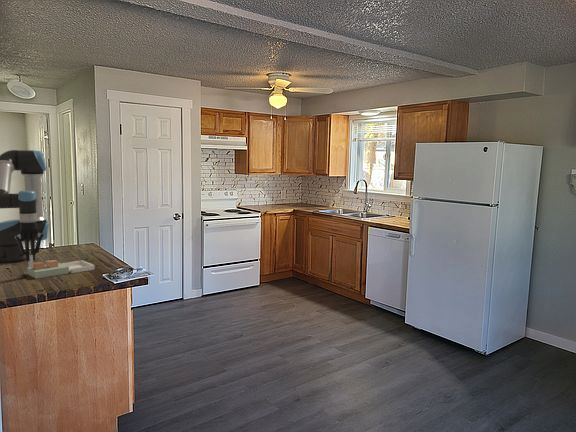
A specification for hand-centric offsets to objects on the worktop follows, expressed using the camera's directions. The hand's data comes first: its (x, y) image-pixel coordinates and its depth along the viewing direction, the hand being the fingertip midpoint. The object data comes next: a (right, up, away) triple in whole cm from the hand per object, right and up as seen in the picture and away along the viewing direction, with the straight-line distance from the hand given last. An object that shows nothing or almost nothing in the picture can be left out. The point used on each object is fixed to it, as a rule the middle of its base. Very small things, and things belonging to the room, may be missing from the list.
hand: (30, 267), depth 222 cm
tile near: (+2, -1, +3) cm, 4 cm away
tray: (+15, -3, +17) cm, 23 cm away
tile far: (+7, -1, +7) cm, 10 cm away
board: (+5, -4, +6) cm, 9 cm away
